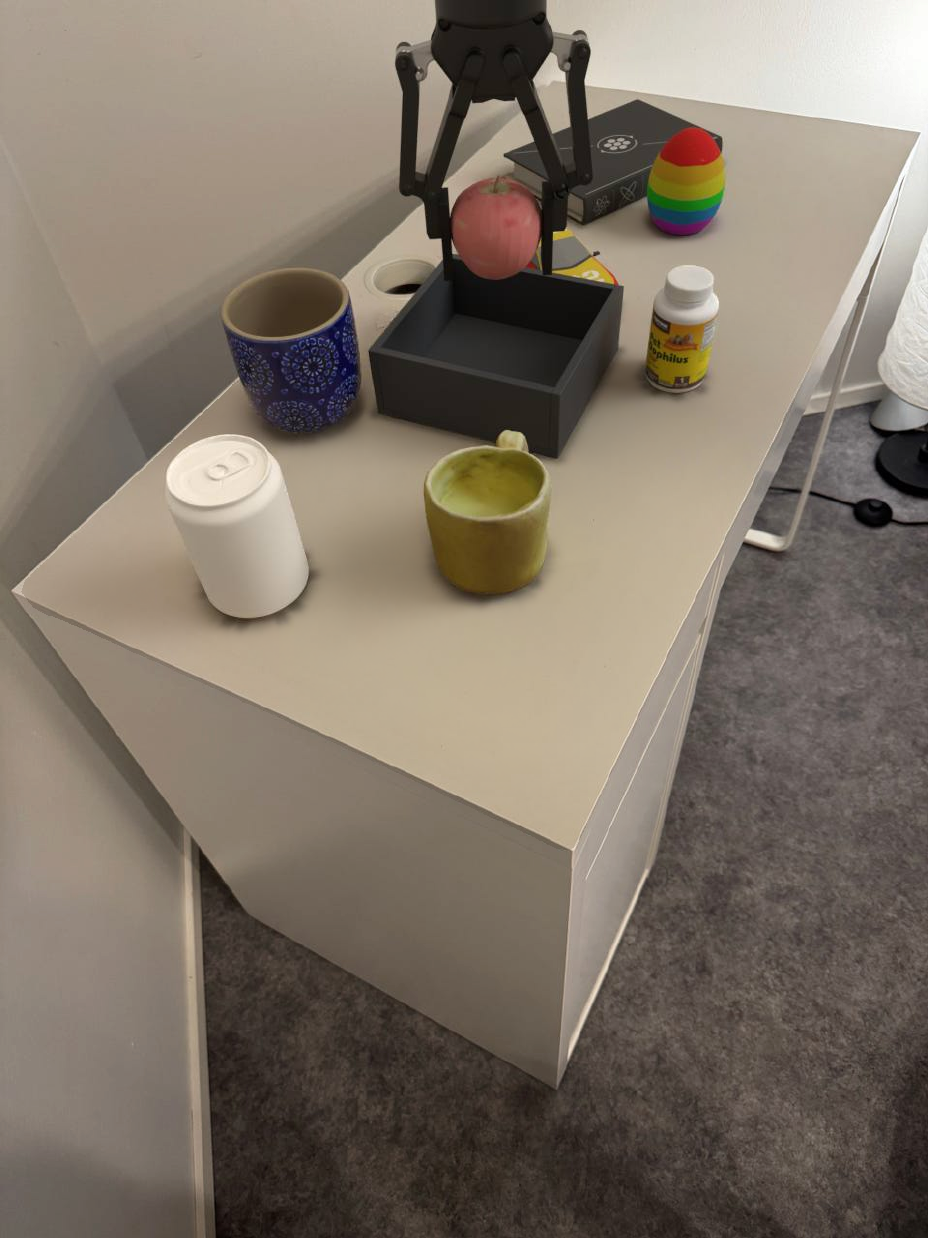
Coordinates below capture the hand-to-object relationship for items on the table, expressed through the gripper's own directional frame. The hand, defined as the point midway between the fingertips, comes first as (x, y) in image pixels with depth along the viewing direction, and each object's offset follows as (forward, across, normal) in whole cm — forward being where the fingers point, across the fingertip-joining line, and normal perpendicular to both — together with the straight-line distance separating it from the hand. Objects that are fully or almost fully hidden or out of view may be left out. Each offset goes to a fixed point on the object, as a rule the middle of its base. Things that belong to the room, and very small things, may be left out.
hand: (497, 268), depth 76 cm
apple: (0, 0, 0) cm, 0 cm away
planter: (+12, +18, +3) cm, 21 cm away
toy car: (+12, -6, -16) cm, 21 cm away
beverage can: (+12, +20, +24) cm, 33 cm away
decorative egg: (+12, -21, -26) cm, 36 cm away
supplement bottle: (+12, -16, +1) cm, 20 cm away
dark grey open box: (+11, 0, 0) cm, 11 cm away
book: (+12, -15, -39) cm, 44 cm away
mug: (+12, +1, +21) cm, 24 cm away
